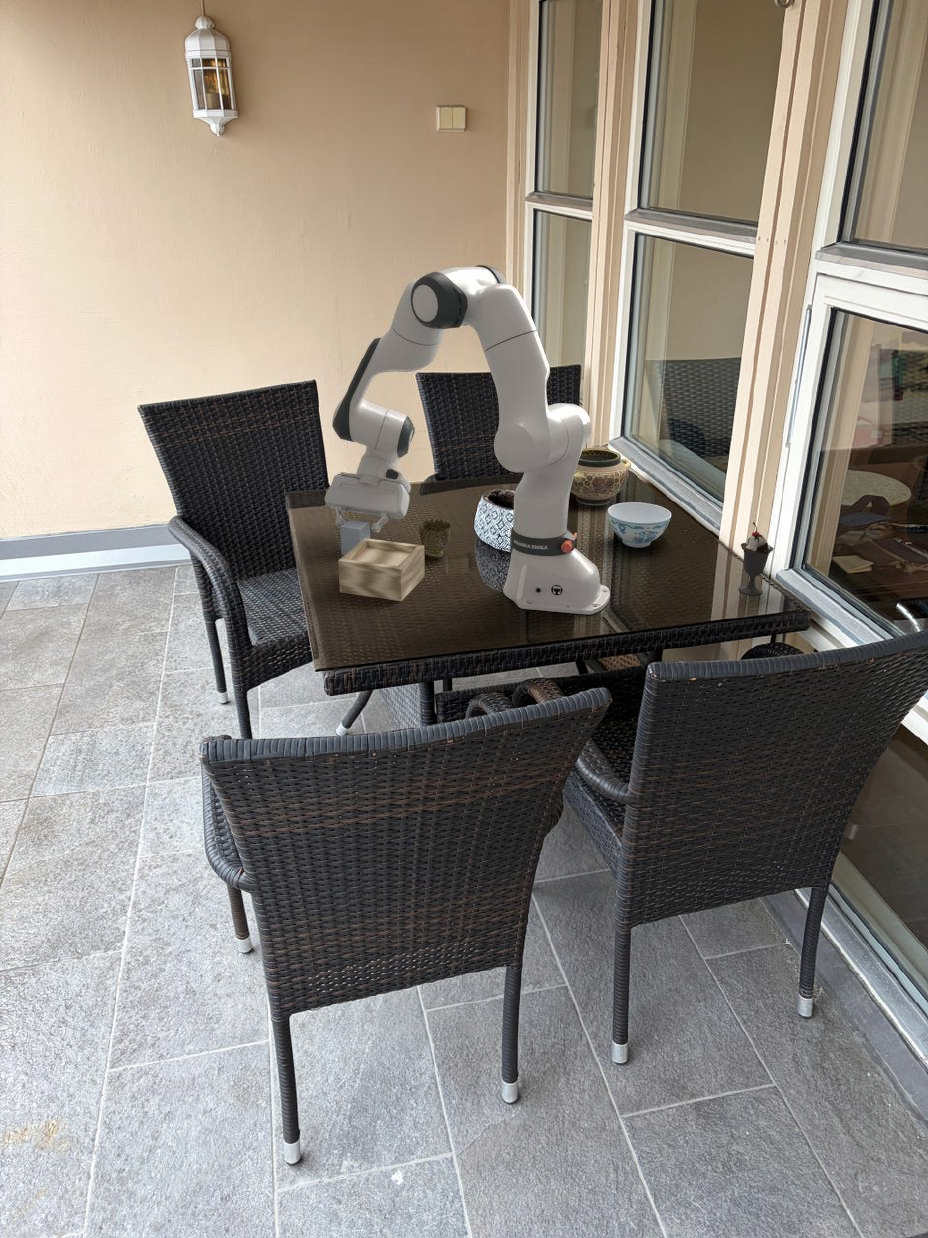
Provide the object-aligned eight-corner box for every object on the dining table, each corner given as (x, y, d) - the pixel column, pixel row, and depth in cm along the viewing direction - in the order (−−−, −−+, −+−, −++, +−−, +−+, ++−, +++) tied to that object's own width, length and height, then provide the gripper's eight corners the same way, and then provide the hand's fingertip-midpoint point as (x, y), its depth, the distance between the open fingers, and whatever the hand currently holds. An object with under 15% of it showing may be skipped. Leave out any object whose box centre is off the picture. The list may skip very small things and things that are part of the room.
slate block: (370, 550, 219) (369, 522, 216) (360, 558, 215) (359, 529, 212) (351, 547, 221) (350, 519, 218) (341, 554, 217) (340, 526, 214)
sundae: (738, 582, 204) (747, 517, 198) (769, 588, 201) (780, 522, 195) (730, 593, 199) (740, 526, 192) (762, 599, 196) (773, 532, 190)
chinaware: (602, 550, 221) (604, 519, 217) (608, 529, 234) (610, 499, 231) (666, 556, 218) (669, 525, 214) (669, 534, 231) (672, 505, 227)
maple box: (424, 577, 206) (424, 545, 202) (401, 602, 194) (400, 569, 190) (366, 569, 210) (364, 538, 206) (339, 593, 198) (338, 560, 194)
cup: (447, 563, 212) (447, 530, 209) (415, 561, 213) (415, 528, 210) (454, 552, 219) (454, 519, 215) (423, 549, 220) (423, 517, 217)
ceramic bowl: (611, 496, 266) (607, 443, 263) (654, 497, 251) (649, 441, 248) (542, 510, 255) (536, 455, 251) (582, 513, 240) (576, 454, 236)
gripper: (331, 464, 221) (312, 516, 217) (409, 475, 214) (391, 528, 210) (341, 477, 226) (323, 528, 223) (417, 488, 220) (400, 540, 216)
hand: (356, 528), depth 216 cm, fingers open, 8 cm apart
